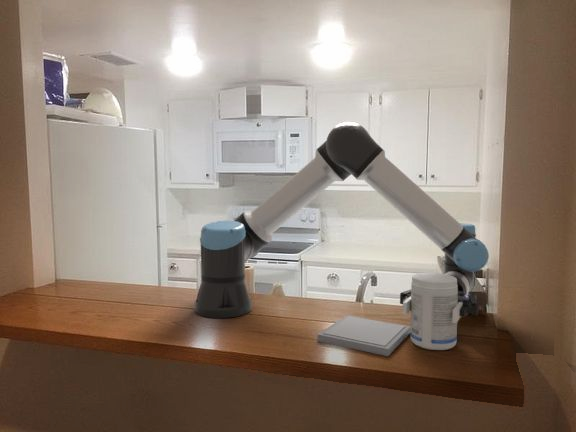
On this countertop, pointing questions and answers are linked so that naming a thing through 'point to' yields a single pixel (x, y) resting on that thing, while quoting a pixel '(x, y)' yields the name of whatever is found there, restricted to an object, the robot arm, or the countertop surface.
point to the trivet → (365, 335)
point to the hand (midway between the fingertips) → (428, 312)
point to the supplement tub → (433, 310)
